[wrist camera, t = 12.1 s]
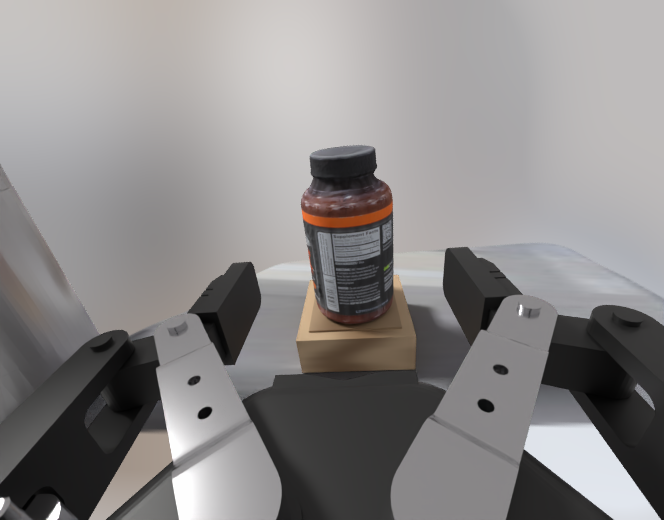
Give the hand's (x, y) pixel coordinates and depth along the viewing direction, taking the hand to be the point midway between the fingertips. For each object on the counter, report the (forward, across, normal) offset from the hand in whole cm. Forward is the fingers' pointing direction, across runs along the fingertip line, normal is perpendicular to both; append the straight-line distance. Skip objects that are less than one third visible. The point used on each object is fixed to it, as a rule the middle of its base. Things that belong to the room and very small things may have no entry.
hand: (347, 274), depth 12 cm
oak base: (+8, 0, +10) cm, 13 cm away
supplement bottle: (+8, 0, +8) cm, 11 cm away
